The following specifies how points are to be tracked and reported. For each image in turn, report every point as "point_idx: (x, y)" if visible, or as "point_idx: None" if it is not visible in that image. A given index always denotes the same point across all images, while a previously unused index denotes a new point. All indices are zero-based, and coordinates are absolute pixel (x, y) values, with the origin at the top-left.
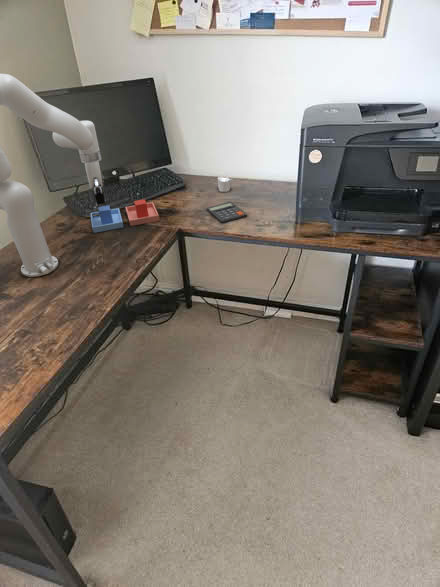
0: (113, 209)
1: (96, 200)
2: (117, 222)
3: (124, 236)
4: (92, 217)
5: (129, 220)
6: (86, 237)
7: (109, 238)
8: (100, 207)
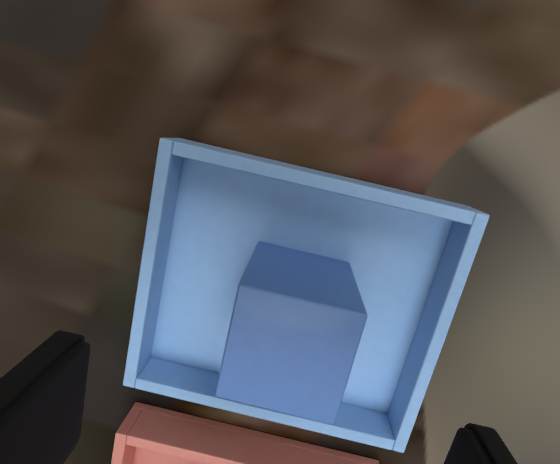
0: (410, 410)
1: (18, 372)
2: (134, 351)
3: (5, 314)
4: (398, 206)
5: (116, 434)
6: (133, 61)
7: (25, 217)
8: (341, 334)
